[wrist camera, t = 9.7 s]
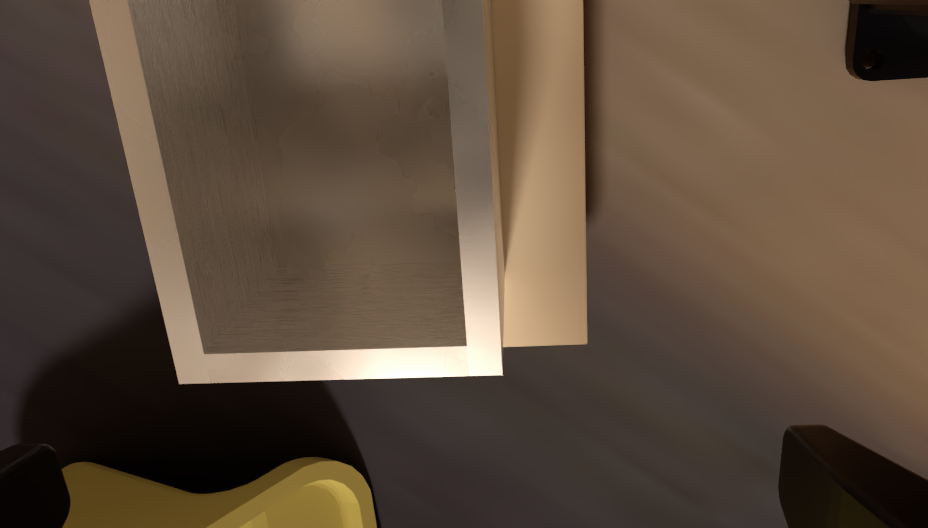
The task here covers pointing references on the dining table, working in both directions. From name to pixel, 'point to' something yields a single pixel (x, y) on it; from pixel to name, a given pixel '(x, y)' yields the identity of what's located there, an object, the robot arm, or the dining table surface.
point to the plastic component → (223, 499)
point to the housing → (315, 183)
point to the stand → (542, 169)
